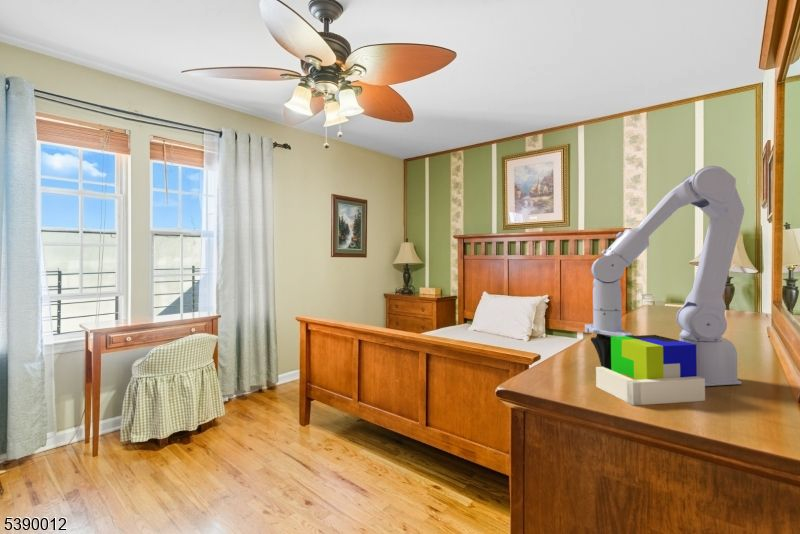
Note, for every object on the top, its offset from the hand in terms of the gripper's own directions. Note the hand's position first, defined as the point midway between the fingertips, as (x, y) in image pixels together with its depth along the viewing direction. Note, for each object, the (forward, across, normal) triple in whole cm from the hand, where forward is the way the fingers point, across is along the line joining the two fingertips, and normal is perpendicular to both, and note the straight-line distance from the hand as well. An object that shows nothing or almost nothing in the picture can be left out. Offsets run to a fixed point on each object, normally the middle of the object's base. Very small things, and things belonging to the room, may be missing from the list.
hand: (608, 369), depth 89 cm
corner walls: (+1, +13, -1) cm, 13 cm away
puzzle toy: (+1, +12, +1) cm, 12 cm away
